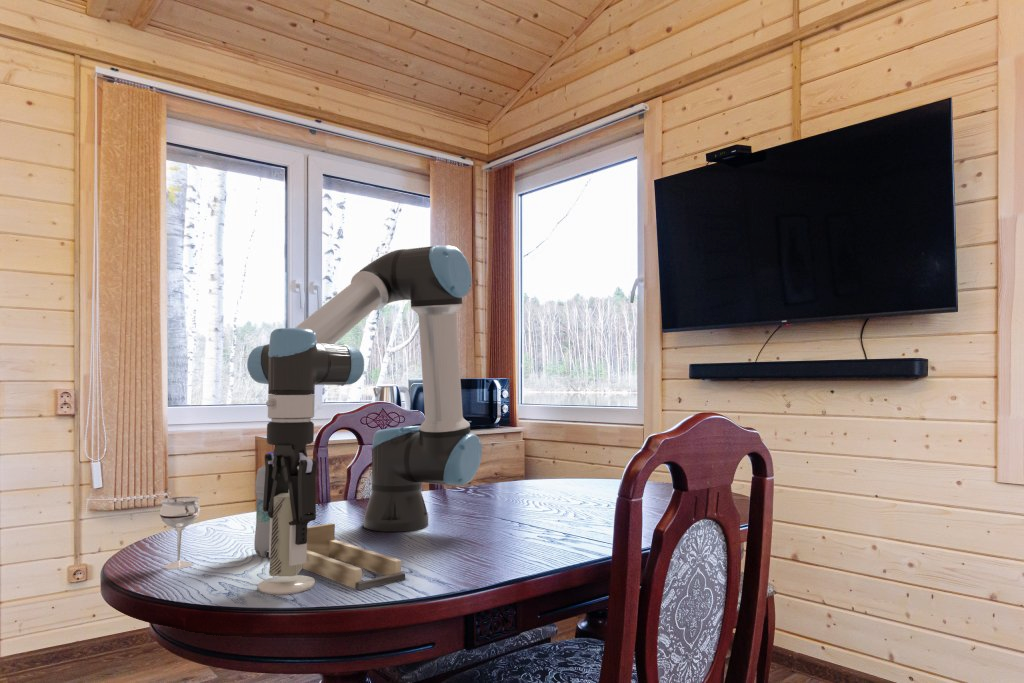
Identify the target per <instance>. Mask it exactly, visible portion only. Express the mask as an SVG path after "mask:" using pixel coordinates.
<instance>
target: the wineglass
mask: <svg viewBox="0 0 1024 683" xmlns="http://www.w3.org/2000/svg"><path fill="white" fill-rule="evenodd" d="M200 500H201V497H198V496H173V497H172V496H171V497H167V498H163V499H161V500H160V503H161V505H162V506H161V508H160V510H159V516H160V519H161V521H163V523H165V525H167V526H169V527H170V528H174V530H175V532H176V533H177V534H176V537H177V538H176V540H177V545H176V546H177V549H176V550H177V555H176V556H177V560H176V561H175V560H174V561H173V562H169V563H166V564H165V565H164V566H163V568H164V569H167V570H168V569H169V570H179V569H184V568H185V569H187V568H189V567H191V566H193V565H194V563H193V562H189V561H184V560H181V549H182V547H181V546H182V535H183V531H184V530H185V528H186V527H188V526H190V525H192V524H193V523H194V522H195V521H196V520H197V519H198V518H199V515H200V512H201V506H200V504H199V501H200Z"/></svg>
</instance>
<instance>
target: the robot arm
mask: <svg viewBox="0 0 1024 683" xmlns="http://www.w3.org/2000/svg"><path fill="white" fill-rule="evenodd" d="M350 280H351V281H350V284H349V285H347V286H346V287H345V288H344V289H342V290H341V291H340V292H338V293H337V294H336V295H335V296H334V297H332V298H330V300H328V301H327V302H326V303H324V304H323V305H322V306H321V307H320V308H318V309H317V310H315V311H314V312H313V313H312V314H311V315H309V316H308V317H307V318H306V319H304V320H303V321H302V322H300V323H299V324H298V325H296V326H295V327H294V328H293V327H282V328H275V329H273V330H272V331H271V333H270V336H269V344H267V343H266V344H263V345H259V346H256V347H255V348H253V349H252V350H251V351H250V353H249V355H248V357H247V363H246V365H247V366H246V368H247V371H248V373H249V375H250V377H251V378H252V380H253V381H254V382H256V383H258V384H264V385H268V389H267V394H268V396H267V401H266V402H265V403H266V404H265V405H266V407H267V418H268V419H271V421H269V422H268V423H267V424H266V443H267V444H268V445H271V446H274V449H273V451H272V452H273V454H267V453H266V454H264V465H265V484H264V499H263V511H264V512H268V516H269V517H270V535H269V552H268V558H270V555H271V537H272V522H273V506H274V497H275V496H277V495H279V494H281V493H288V490H289V495H290V503H291V510H292V518H293V521H291V522H289V525H290V537H289V565H290V566H293V565H298V564H304V563H306V560H307V527H308V526H309V525H308V524H309V523H310V522H312V521H315V520H316V518H317V505H316V502H317V500H316V496H317V495H316V472H317V464H318V461H317V459H316V458H308V452H307V448H306V447H307V445H310V444H312V443H313V442H314V438H315V437H314V436H315V432H314V431H315V430H314V429H315V423H314V422H313V421H311V420H312V419H313V418H314V417H315V401H316V400H315V397H316V395H315V390H316V386H341V387H343V386H346V385H347V386H349V385H352V384H355V383H356V382H358V381H359V380H360V379H361V377H362V376H363V374H364V370H365V358H364V355H363V354H362V352H361V351H360V349H359V348H357V347H356V346H353V345H350V344H349V345H348V344H345V343H337V342H339V340H340V339H342V338H343V337H344V336H345V335H346V334H347V333H349V332H350V331H351V330H352V329H353V328H354V327H356V325H359V323H360V322H361V321H363V319H365V318H366V317H367V316H368V315H370V313H372V312H373V311H379V310H381V309H383V308H385V307H386V306H387V305H388V304H390V303H394V302H399V301H410V308H411V310H412V311H414V312H415V313H416V314H417V315H418V329H419V331H418V333H419V345H420V346H419V348H420V361H421V363H420V364H421V375H422V379H421V380H422V389H423V390H422V391H423V393H422V395H423V406H424V407H423V408H424V421H423V422H422V423H421V424H420V425H411V426H410V425H409V426H403V427H402V426H401V427H393V428H385V429H379V430H377V431H375V432H374V433H373V437H372V447H371V493H370V494H371V495H370V497H369V499H368V503H367V506H366V509H365V514H364V515H363V528H365V529H366V530H371V531H377V532H408V531H416V530H419V529H423V528H426V527H427V526H428V525H429V513H428V511H427V510H428V509H427V506H426V503H425V500H424V496H423V493H422V484H433V485H444V486H448V487H450V486H465V485H467V484H468V483H470V482H471V481H472V480H473V479H474V477H475V476H476V474H477V472H478V470H479V468H480V464H481V460H482V452H483V448H482V447H483V446H482V443H481V440H480V438H479V436H478V435H476V434H475V433H472V432H471V424H470V422H469V421H468V420H466V419H465V418H464V416H463V415H464V414H463V412H464V411H463V398H462V383H461V368H460V367H461V366H460V351H459V335H458V333H459V332H458V317H457V312H458V311H459V310H460V309H461V307H462V306H463V298H464V297H466V296H467V295H468V294H469V293H470V291H471V286H472V281H473V280H472V272H471V267H470V264H469V261H468V259H467V258H466V256H464V253H463V252H462V251H461V250H460V249H459V248H457V247H456V246H453V245H438V244H437V245H433V246H423V247H415V248H405V249H403V248H402V249H397V250H393V251H390V252H388V253H386V254H384V255H382V256H379V257H378V258H376V259H375V260H373V261H371V262H370V263H368V264H367V265H365V266H364V267H363V268H361V269H360V270H359V271H358V272H356V273H355V274H354V275H353V276H352V278H351V279H350Z"/></svg>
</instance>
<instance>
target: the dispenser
mask: <svg viewBox="0 0 1024 683" xmlns="http://www.w3.org/2000/svg"><path fill="white" fill-rule="evenodd" d="M335 528H336V524H335V523H332V522H331V523H330V522H329V523H326V524H318V525H312V526H307V560H306V563H304V564H302V569H303V570H305V571H309V572H311V573H313V574H317V575H319V576H322V577H324V578H326V579H329V580H331V581H334V582H337V583H339V584H342V585H344V586H347V587H350V588H352V589H355V590H357V591H362V590H366V589H370V588H374V587H379V586H383V585H387V584H392V583H396V582H400V581H405V580H406V572H402V560H401V559H398V558H395V557H392V556H390V555H389V556H388V555H385V554H382V553H379V552H377V551H372V550H369V549H365V548H363V547H360V546H356V545H353V544H350V543H347V542H344V541H340V540H337V539H335V536H336V529H335ZM362 569H364V570H367V571H370V572H373V573H376V574H378V575H383V576H379V577H376V578H371V579H366V580H362V578H363V577H362V576H363V575H362V574H363V572H362V571H363V570H362Z"/></svg>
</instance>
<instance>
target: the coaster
mask: <svg viewBox="0 0 1024 683" xmlns="http://www.w3.org/2000/svg"><path fill="white" fill-rule="evenodd" d="M315 586H316V580H315V578H314V577H311V576H309V575H302V574H301V575H299V574H297V575H296V576H272V577H270V578H265V579H263V580H261V581H259V583H258V584H257V590H258V591H259V592H260V593H263V594H266V595H278V596H279V595H281V596H282V595H292V594H293V595H294V594H298V593H302V592H303V593H304V592H305V591H306V592H307V591H309V590H311V589H313V588H314V587H315Z"/></svg>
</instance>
